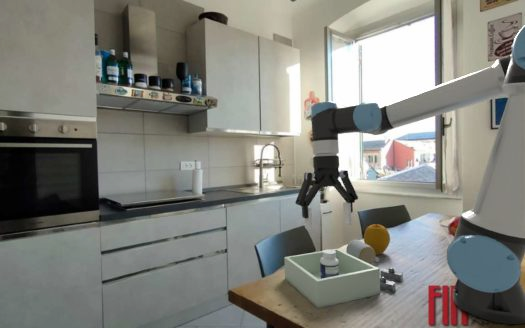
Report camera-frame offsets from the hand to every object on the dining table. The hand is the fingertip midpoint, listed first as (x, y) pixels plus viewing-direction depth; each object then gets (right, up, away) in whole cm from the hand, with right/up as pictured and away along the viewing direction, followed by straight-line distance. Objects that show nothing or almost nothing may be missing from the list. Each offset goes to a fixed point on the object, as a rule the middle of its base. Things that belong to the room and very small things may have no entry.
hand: (328, 226), depth 86 cm
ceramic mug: (+17, -17, +19) cm, 31 cm away
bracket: (+18, -17, +1) cm, 25 cm away
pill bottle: (0, -18, 0) cm, 18 cm away
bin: (0, -18, 0) cm, 18 cm away
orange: (+25, -17, +27) cm, 41 cm away
